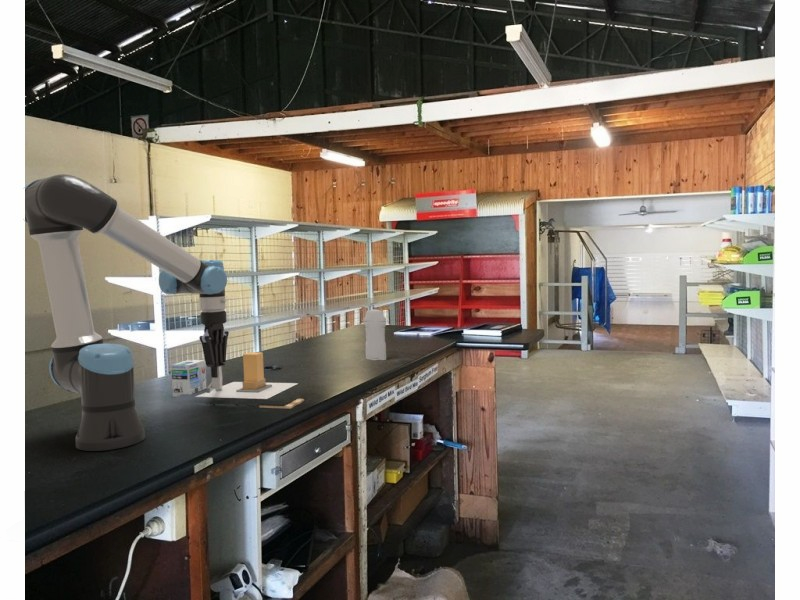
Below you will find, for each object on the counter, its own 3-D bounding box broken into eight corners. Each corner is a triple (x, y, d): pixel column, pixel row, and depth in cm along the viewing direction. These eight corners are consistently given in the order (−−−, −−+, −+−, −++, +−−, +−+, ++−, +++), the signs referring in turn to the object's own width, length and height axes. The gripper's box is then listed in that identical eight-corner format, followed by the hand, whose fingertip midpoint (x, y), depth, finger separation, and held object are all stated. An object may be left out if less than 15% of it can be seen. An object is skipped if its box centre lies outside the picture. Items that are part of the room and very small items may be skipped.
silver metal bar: (203, 393, 179) (202, 388, 179) (214, 379, 201) (213, 375, 201) (213, 392, 180) (213, 387, 180) (223, 379, 201) (223, 374, 201)
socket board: (267, 402, 185) (266, 388, 185) (195, 399, 191) (194, 387, 191) (298, 386, 208) (298, 374, 208) (233, 384, 214) (233, 373, 214)
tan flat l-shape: (290, 408, 175) (290, 406, 175) (259, 407, 178) (259, 405, 178) (304, 400, 185) (304, 398, 185) (274, 399, 188) (274, 397, 188)
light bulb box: (190, 397, 195) (189, 364, 194) (171, 397, 196) (170, 364, 195) (207, 390, 205) (206, 359, 204) (189, 390, 206) (188, 359, 206)
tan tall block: (256, 391, 196) (254, 355, 195) (242, 391, 197) (241, 354, 197) (265, 387, 203) (264, 351, 202) (253, 386, 204) (251, 351, 203)
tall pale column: (389, 359, 262) (387, 309, 260) (385, 360, 258) (383, 309, 256) (367, 358, 266) (365, 308, 264) (363, 360, 262) (361, 309, 261)
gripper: (212, 312, 175) (216, 392, 177) (235, 308, 188) (239, 383, 189) (189, 312, 177) (194, 391, 179) (213, 309, 190) (217, 382, 191)
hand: (217, 387), depth 184 cm, fingers closed
